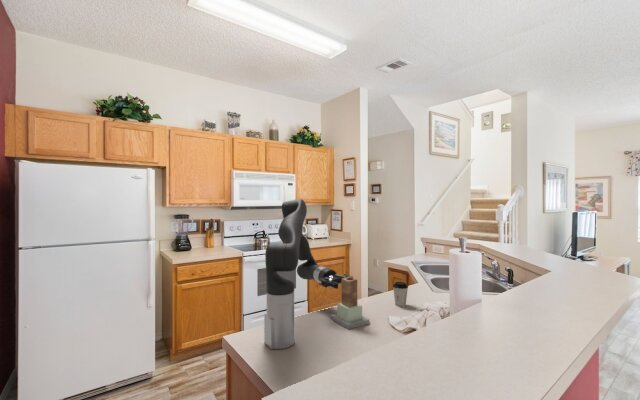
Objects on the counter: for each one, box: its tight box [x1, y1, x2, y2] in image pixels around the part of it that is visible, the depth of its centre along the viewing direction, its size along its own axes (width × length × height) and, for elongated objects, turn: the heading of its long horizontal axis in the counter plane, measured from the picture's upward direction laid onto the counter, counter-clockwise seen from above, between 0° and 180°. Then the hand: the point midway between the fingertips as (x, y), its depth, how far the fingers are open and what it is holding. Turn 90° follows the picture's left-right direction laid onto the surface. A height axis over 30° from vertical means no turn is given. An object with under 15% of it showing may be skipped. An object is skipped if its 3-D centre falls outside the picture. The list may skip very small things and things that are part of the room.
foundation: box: [330, 302, 370, 330], centre depth 121 cm, size 10×12×6 cm
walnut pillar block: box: [341, 276, 358, 307], centre depth 121 cm, size 4×4×11 cm
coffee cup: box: [392, 281, 409, 308], centre depth 139 cm, size 7×7×10 cm
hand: (346, 284), depth 123 cm, fingers open, 8 cm apart
